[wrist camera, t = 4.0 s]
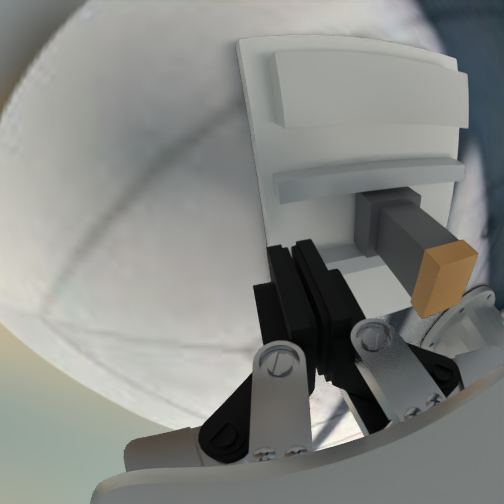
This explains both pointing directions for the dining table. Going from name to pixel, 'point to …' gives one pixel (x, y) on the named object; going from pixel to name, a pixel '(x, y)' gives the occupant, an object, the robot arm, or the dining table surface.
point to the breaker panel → (350, 142)
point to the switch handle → (413, 248)
